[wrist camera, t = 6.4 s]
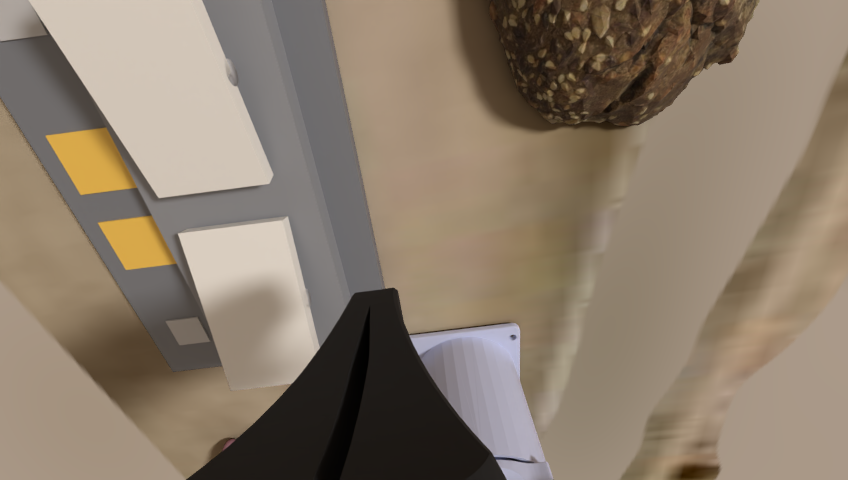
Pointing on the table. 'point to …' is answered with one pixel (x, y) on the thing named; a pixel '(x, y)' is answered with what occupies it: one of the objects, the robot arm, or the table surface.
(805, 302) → the table surface
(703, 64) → the bread roll
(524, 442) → the robot arm
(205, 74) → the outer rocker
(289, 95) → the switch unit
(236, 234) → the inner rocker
